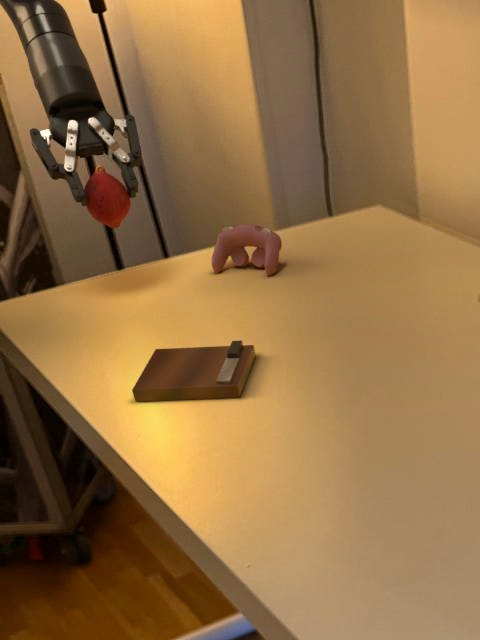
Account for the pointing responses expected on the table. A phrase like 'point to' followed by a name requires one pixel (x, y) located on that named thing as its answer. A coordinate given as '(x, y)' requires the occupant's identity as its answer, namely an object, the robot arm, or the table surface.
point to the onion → (107, 198)
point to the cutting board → (195, 373)
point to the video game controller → (241, 237)
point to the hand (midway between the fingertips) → (109, 198)
